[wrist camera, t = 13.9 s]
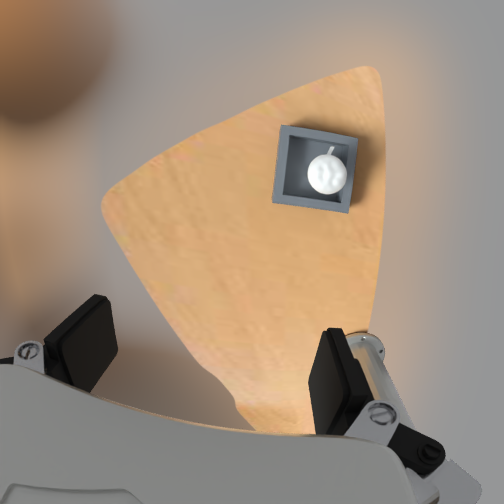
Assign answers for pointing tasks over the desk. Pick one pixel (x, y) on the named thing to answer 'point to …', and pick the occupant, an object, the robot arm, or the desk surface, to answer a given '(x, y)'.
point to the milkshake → (326, 173)
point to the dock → (299, 156)
